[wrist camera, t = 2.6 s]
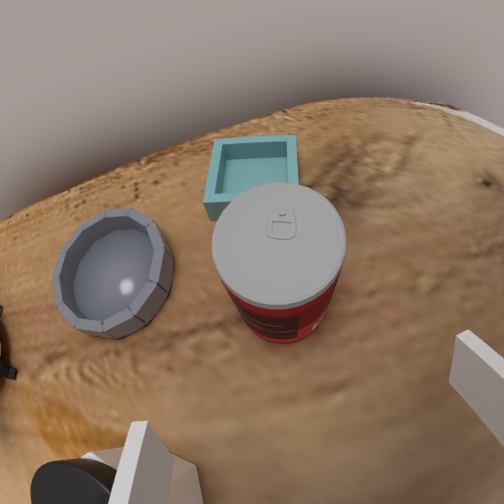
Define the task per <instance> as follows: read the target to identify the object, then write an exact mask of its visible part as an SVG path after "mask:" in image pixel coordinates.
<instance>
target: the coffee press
mask: <svg viewBox="0 0 504 504" xmlns="http://www.w3.org/2000/svg"><path fill="white" fill-rule="evenodd" d="M1 314H2V306H1V305H0V315H1ZM0 355H1V344H0ZM15 373H16V369H15V368H13V367H11V366H9V365H6V364H4V363H2V362H1V361H0V375H2V376H4V377H7V378H9V379H12V380H14V378H15Z"/></svg>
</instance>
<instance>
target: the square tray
mask: <svg viewBox="0 0 504 504" xmlns="http://www.w3.org/2000/svg"><path fill="white" fill-rule="evenodd" d="M276 182H287V183H294V184H299V182H298V165H297V150H296V135H277V136H255V137H239V138H225V139H215V140H214V146H213V151H212V156H211V161H210V167H209V172H208V178H207V183H206V189H205V195H204V200H203V204H204V206H205V208H206V211H207V213H208V216H209V218H210V220H218V219H219V217H220V215H221V214H222V212H223V211H224V209H225V208H226V207H227V206H228V205H229V204H230V202H232V201H233V200H234V199H235V198H236V197H238V196H239V195H240V194H242V193H244V192H246V191H247V190H249V189H251V188H254V187H257V186H259V185H263V184H268V183H276Z"/></svg>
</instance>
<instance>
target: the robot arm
mask: <svg viewBox="0 0 504 504" xmlns="http://www.w3.org/2000/svg"><path fill="white" fill-rule="evenodd" d="M449 383H450V384H451V385H452V386H453V387H454V389H455V390H456V391H457V392H458V393H459V394H460V395H461V397H462V398H463V399H464V400H465V401H466V402H467V403H468V405H469V406H470V407H471V408H472V409H473V410H474V412H475V413H476V414H477V415H478V416H479V418H480V419H481V420H482V421H483V422H484V424H485V425H486V426H487V427H488V428H489V430H490V431H491V432H492V433H493V434H494V436H495V437H496V438H497V439H498V441H499V442H500V443H501V444H502V446H503V447H504V359H503V358H502V357H501V356H500V355H499V354H498V353H496V352H495V351H494V350H493V349H492V348H490V347H489V346H488V345H487V344H486V343H484V342H483V341H482V340H481V339H480V338H478V337H477V336H476V335H475V334H473V333H472V332H471V331H470V330H466V331H464V332H462V333H460V334H458V335H456V338H455V346H454V353H453V360H452V366H451V372H450V377H449ZM173 463H174V458H173V456H172V455H171V454H170V452H169V451H168V450H167V448H166V447H165V445H164V444H163V442H162V441H161V440H160V438H159V437H158V435H157V434H156V432H155V431H154V429H153V428H152V426H151V425H150V423H149V422H148V421H138V422H132V423H131V426H130V429H129V432H128V436H127V439H126V442H125V446H124V449H123V452H122V456H121V459H120V462H119V466H118V469H117V473H116V476H115V480H114V484H113V487H112V491H111V495H107V494H101V495H100V496H99V497H98V499H97V500H96V501H95V502H94V504H168V502H169V494H170V486H171V478H172V470H173Z"/></svg>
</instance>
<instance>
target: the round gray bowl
mask: <svg viewBox="0 0 504 504" xmlns="http://www.w3.org/2000/svg"><path fill="white" fill-rule="evenodd" d="M62 250H63V251H60V254H59V257H58V261H57V264H56V267H55V271H54V274H53V278H52V279H53V280H52V282H53V290H54V296H55V303H56V307H57V309H58V310H59V312H60V313H61V314H62V315H63V316H64V317H65V318H66V320H67V321H68V322H69V323H70V324H71V325H72V326H73V327H74V328H75V329H78V330H80V331H82V332H84V333H86V334H88V335H93V336H98V337H102V338H111V339H112V338H114V339H116V338H117V339H118V338H120V337H124V336H128V335H130V334H132V333H135V332H136V331H138V330H140V329H141V328H143V327H144V326H145V325H147V324H148V323H149V322H150V321H151V320H152V319H153V318H154V317H155V316H156V314H157V313H158V312H159V311H160V309H161V307H162V306H163V304H164V303H165V301H166V299H167V296H168V294H169V291H170V288H171V285H172V280H173V272H174V265H173V262H174V260H173V257H172V253H171V250H170V248H169V246H168V244H167V242H166V239H165V237H164V234H163V233H162V231H161V230H160V228H159V227H158V225H157V224H156V223H155V221H154V220H153V219H151V218H149V217H148V216H146V215H144V214H142V213H141V212H139V211H137V210H135V209H134V208H121V209H110V210H106V211H105V210H104V211H103V212H101V213H99V214H97V215H96V216H94V217H92V218H91V219H89V220H87V221H86V222H84V223H83V224H81V227H80V226H79V227H78V228H77V229H76V231H75V232H74V233H73V234H72V236H71V237H70V238H69V240H68V241H67V242H66V244H65V245H64V246H63V248H62Z"/></svg>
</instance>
